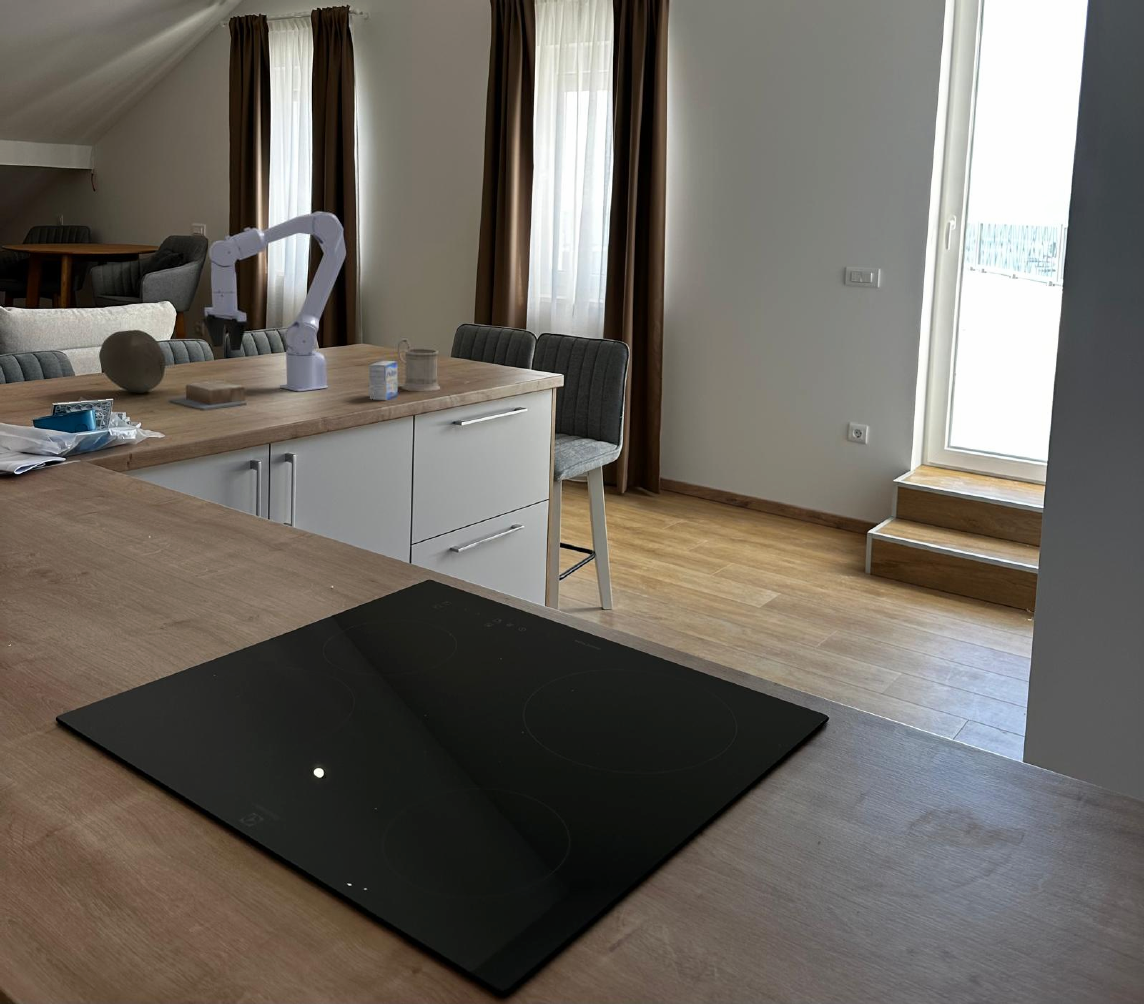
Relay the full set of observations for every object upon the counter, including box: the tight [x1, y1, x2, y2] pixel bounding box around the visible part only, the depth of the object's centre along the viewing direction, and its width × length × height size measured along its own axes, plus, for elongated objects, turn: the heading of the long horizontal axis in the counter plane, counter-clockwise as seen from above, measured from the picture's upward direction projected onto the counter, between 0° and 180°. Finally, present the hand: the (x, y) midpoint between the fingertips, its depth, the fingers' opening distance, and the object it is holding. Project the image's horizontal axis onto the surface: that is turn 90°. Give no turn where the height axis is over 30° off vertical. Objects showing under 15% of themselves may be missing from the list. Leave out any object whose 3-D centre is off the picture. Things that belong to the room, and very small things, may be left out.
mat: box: [169, 396, 247, 411], centre depth 257 cm, size 11×14×1 cm
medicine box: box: [368, 360, 398, 402], centre depth 272 cm, size 8×4×9 cm, turn 168°
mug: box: [397, 338, 441, 392], centre depth 289 cm, size 14×10×12 cm
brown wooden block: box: [185, 379, 246, 405], centre depth 258 cm, size 4×10×9 cm
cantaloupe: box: [98, 329, 166, 394], centre depth 263 cm, size 14×14×15 cm
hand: (226, 348), depth 271 cm, fingers open, 7 cm apart
